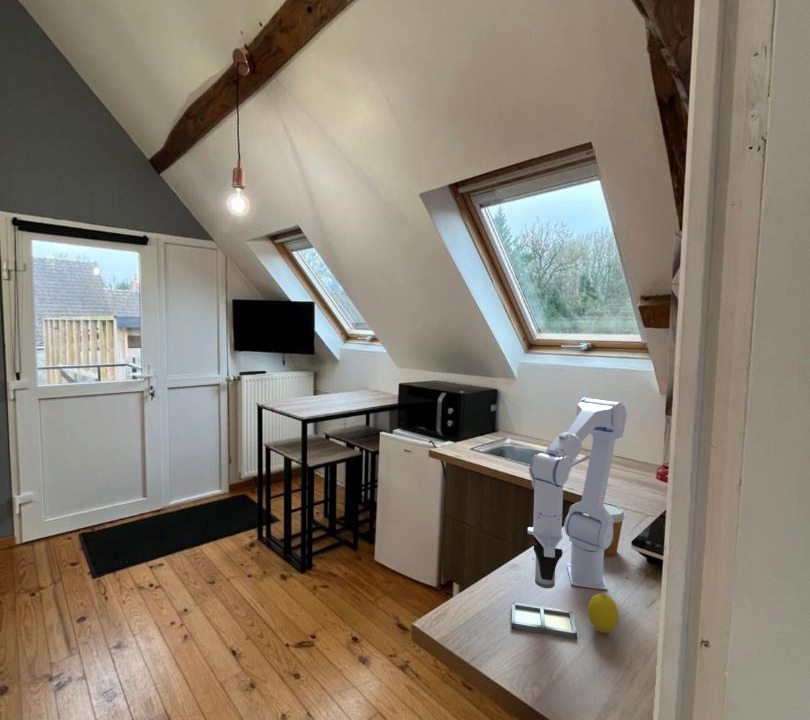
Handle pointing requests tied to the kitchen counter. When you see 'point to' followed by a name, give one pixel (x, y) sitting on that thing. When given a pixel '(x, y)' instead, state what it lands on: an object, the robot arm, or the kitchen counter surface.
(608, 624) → the lemon
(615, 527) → the disposable coffee cup
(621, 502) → the kitchen counter surface
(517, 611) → the checker tray
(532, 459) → the robot arm
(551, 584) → the cell
